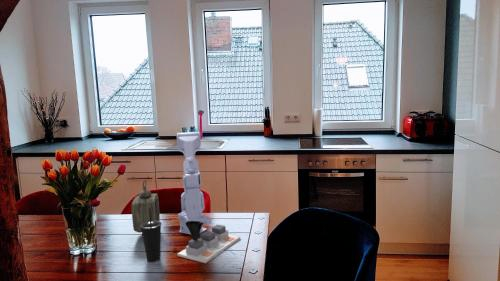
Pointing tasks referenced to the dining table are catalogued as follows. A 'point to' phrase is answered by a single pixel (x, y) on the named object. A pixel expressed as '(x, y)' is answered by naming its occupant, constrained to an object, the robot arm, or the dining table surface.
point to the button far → (218, 229)
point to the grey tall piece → (144, 208)
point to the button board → (209, 247)
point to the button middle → (208, 235)
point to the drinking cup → (152, 238)
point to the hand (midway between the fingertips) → (195, 239)
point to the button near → (195, 243)
